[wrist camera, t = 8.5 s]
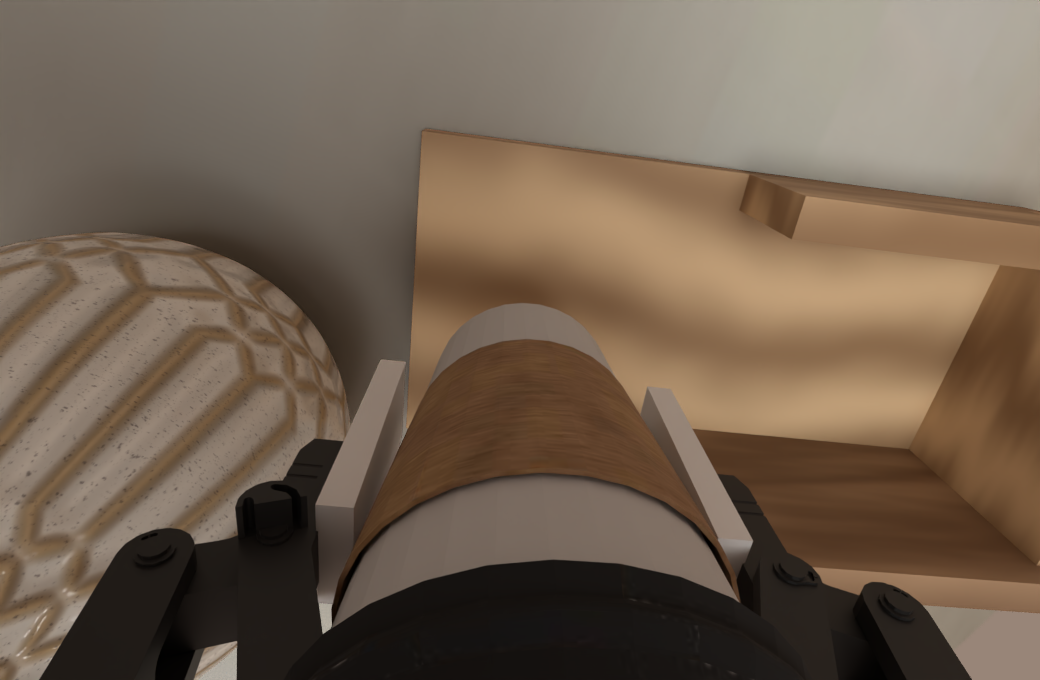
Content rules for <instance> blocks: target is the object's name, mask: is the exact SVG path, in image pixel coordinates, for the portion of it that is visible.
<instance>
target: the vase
mask: <svg viewBox="0 0 1040 680" xmlns="http://www.w3.org/2000/svg"><path fill="white" fill-rule="evenodd" d="M349 429H350V416H349V409H348V403H347V398H346V393H345V389H344V385H343V382H342V379H341V375H340V373H339V370H338V368H337V365H336V363H335V361H334V358H333V356H332V354H331V352H330V350H329V348H328V346H327V344H326V343H325V341H324V339H323V338H322V336H321V334H320V333H319V331H318V330H317V329H316V327H315V326H314V324H313V323H312V322H311V321H310V319H309V318H308V317H307V316H306V314H305V313H304V312H303V311H302V310H301V309H300V308H299V307H298V306H297V305H296V304H295V303H294V302H293V301H292V300H291V299H290V298H289V297H288V296H287V295H286V294H285V293H283V292H282V291H281V290H280V289H278V288H277V287H276V286H275V285H273V284H272V283H271V282H269V281H268V280H266V279H265V278H264V277H262V276H261V275H259V274H257V273H256V272H254V271H253V270H251V269H249V268H247V267H245V266H244V265H242V264H240V263H238V262H236V261H234V260H232V259H229V258H227V257H225V256H223V255H220V254H217V253H215V252H212V251H209V250H206V249H203V248H200V247H197V246H194V245H190V244H187V243H184V242H180V241H175V240H171V239H166V238H160V237H154V236H147V235H138V234H128V233H115V232H97V233H81V234H69V235H59V236H52V237H45V238H40V239H34V240H28V241H23V242H18V243H14V244H10V245H5V246H2V247H0V680H39V679H40V677H41V676H42V674H43V672H44V671H45V669H46V668H47V666H48V664H49V663H50V661H51V659H52V658H53V656H54V654H55V653H56V651H57V650H58V648H59V646H60V645H61V643H62V641H63V640H64V638H65V637H66V635H67V633H68V632H69V630H70V628H71V627H72V625H73V623H74V622H75V620H76V619H77V617H78V615H79V614H80V612H81V610H82V609H83V607H84V605H85V604H86V602H87V601H88V599H89V597H90V596H91V594H92V592H93V591H94V589H95V587H96V586H97V584H98V583H99V581H100V579H101V578H102V576H103V574H104V573H105V571H106V570H107V568H108V566H109V565H110V563H111V561H112V560H113V558H114V556H115V555H116V553H117V552H118V551H119V550H120V549H121V548H122V547H123V546H124V544H125V543H127V542H129V541H130V540H132V539H133V538H135V537H136V536H138V535H141V534H143V533H146V532H149V531H152V530H156V529H163V528H175V529H181V530H183V531H185V532H187V533H189V534H190V535H191V537H192V538H193V540H194V543H195V544H200V543H206V542H213V541H219V540H224V539H228V538H232V537H234V536H237V535H238V532H237V522H236V511H235V506H236V503H237V500H238V498H239V497H240V496H241V495H242V494H243V493H244V492H245V491H246V490H248V489H250V488H251V487H253V486H255V485H257V484H260V483H264V482H268V481H280V480H283V479H284V477H285V476H286V474H287V472H288V470H289V468H290V467H291V465H292V464H293V461H294V459H295V458H296V456H297V454H298V452H299V450H300V449H301V448H303V447H304V446H305V445H307V444H308V443H309V442H311V441H312V440H313V439H326V440H337V441H344V440H345V437H346V435H347V433H348V431H349ZM235 648H237V641H235V642H230V643H226V644H221V645H217V646H212V647H207V648H205V649H204V652H203V655H202V657H201V660H200V663H199V666H198V669H197V671H196V674H195V677H194V680H198V679H199V678H200V677H202V676H203V675H204V674H206V673H207V672H208V671H209V670H211V669H212V668H213V667H215V666H216V665H217V664H218V663H220V662H221V661H222V660H223V659H224V658H226V657H227V656H228V655H229V654H230V653H231V652H232V651H233V650H234V649H235Z"/></svg>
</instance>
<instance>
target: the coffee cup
mask: <svg viewBox="0 0 1040 680" xmlns="http://www.w3.org/2000/svg"><path fill="white" fill-rule="evenodd" d="M284 680H812V678H811V676H810V674H809V672H808V670H807V667H806V665H805V663H804V661H803V659H802V657H801V656H800V655H799V654H798V653H797V651H796V650H795V649H794V648H793V647H792V646H791V645H790V644H789V643H788V641H787V640H786V639H785V638H784V637H783V636H782V635H781V634H780V632H779V631H778V630H777V629H776V628H775V627H774V626H773V625H772V624H770V623H769V622H767V621H766V620H764V619H763V618H762V617H760V616H759V615H757V614H756V613H754V612H753V611H751V610H750V609H748V608H747V607H745V606H744V605H742V604H741V603H740V597H739V591H738V586H737V581H736V576H735V572H734V570H733V568H732V566H731V564H730V562H729V560H728V558H727V556H726V554H725V552H724V550H723V548H722V546H721V545H720V543H719V541H718V540H717V538H716V536H715V535H714V533H713V532H712V530H711V528H710V527H709V525H708V524H707V522H706V520H705V519H704V517H703V515H702V514H701V512H700V511H699V509H698V507H697V506H696V504H695V503H694V501H693V499H692V498H691V496H690V494H689V493H688V491H687V490H686V488H685V486H684V485H683V483H682V482H681V480H680V478H679V477H678V475H677V473H676V472H675V470H674V469H673V467H672V465H671V464H670V462H669V461H668V459H667V457H666V456H665V454H664V452H663V451H662V449H661V448H660V446H659V444H658V443H657V441H656V440H655V438H654V436H653V435H652V433H651V431H650V430H649V428H648V427H647V425H646V423H645V422H644V420H643V419H642V417H641V415H640V414H639V412H638V410H637V409H636V407H635V406H634V404H633V402H632V401H631V399H630V398H629V396H628V394H627V393H626V391H625V389H624V388H623V386H622V385H621V384H620V382H619V381H618V380H617V379H616V377H615V375H614V373H613V371H612V370H611V368H610V366H609V364H608V362H607V361H606V359H605V357H604V355H603V353H602V351H601V350H600V348H599V346H598V344H597V343H596V341H595V340H594V338H593V337H592V336H591V335H590V333H589V332H588V331H587V330H586V329H585V327H584V326H582V325H581V324H580V323H579V322H577V321H576V320H575V319H574V318H572V317H571V316H569V315H567V314H565V313H563V312H561V311H559V310H557V309H554V308H550V307H547V306H543V305H539V304H529V303H516V304H505V305H502V306H498V307H495V308H491V309H488V310H486V311H484V312H482V313H480V314H478V315H476V316H474V317H473V318H471V319H470V320H469V321H467V322H466V323H465V324H464V325H462V326H461V327H460V328H459V329H458V330H457V331H456V333H455V334H454V335H453V336H452V337H451V338H450V340H449V341H448V343H447V345H446V347H445V349H444V351H443V353H442V354H441V356H440V359H439V361H438V364H437V366H436V368H435V371H434V373H433V376H432V378H431V381H430V383H429V386H428V388H427V391H426V393H425V395H424V397H423V399H422V400H421V402H420V404H419V406H418V408H417V411H416V413H415V415H414V417H413V419H412V421H411V424H410V426H409V428H408V430H407V432H406V434H405V437H404V439H403V441H402V443H401V445H400V447H399V450H398V452H397V454H396V456H395V458H394V460H393V463H392V465H391V467H390V469H389V471H388V473H387V476H386V478H385V480H384V482H383V484H382V486H381V489H380V491H379V493H378V495H377V497H376V499H375V502H374V504H373V506H372V508H371V510H370V512H369V515H368V517H367V519H366V521H365V523H364V525H363V528H362V530H361V532H360V534H359V536H358V538H357V541H356V543H355V545H354V547H353V549H352V551H351V554H350V556H349V558H348V560H347V562H346V564H345V567H344V569H343V571H342V573H341V575H340V577H339V580H338V584H337V588H336V592H335V596H334V600H333V605H332V627H331V629H330V630H328V631H327V632H325V633H324V634H323V635H322V636H321V637H320V638H319V639H318V640H317V641H316V642H315V643H314V644H313V645H312V646H311V647H310V648H309V649H308V650H307V651H306V652H305V653H304V654H303V655H302V656H301V657H300V658H299V659H298V660H297V661H296V662H295V663H294V664H293V665H292V666H291V668H290V669H289V671H288V673H287V675H286V677H285V678H284Z"/></svg>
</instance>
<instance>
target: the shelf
mask: <svg viewBox="0 0 1040 680" xmlns="http://www.w3.org/2000/svg"><path fill="white" fill-rule="evenodd" d="M516 303H529V304H539V305H543V306H547V307H550V308H554V309H557V310H559V311H561V312H563V313H565V314H567V315H569V316H571V317H572V318H574V319H575V320H576V321H577V322H579V323H580V324H581V325H582V326H584V327H585V329H586V330H587V331H588V332H589V333H590V335H591V336H592V337H593V338H594V340H595V341H596V343H597V344H598V346H599V348H600V350H601V351H602V353H603V355H604V357H605V359H606V361H607V362H608V364H609V366H610V368H611V370H612V371H613V373H614V375H615V377H616V379H617V380H618V381H619V382H620V384H621V385H622V386H623V388H624V389H625V391H626V393H627V394H628V396H629V398H630V399H631V401H632V402H633V404H634V406H635V407H636V409H637V410H638V412H639V414H641V410H642V406H643V402H644V398H645V394H646V390H647V386H648V387H658V388H667V389H671V390H672V392H673V394H674V396H675V398H676V400H677V401H678V403H679V405H680V407H681V409H682V411H683V413H684V414H685V416H686V418H687V420H688V422H689V424H690V425H691V427H692V429H693V431H694V433H695V435H696V436H697V438H698V440H699V442H700V444H701V446H702V447H703V449H704V451H705V453H706V455H707V457H708V459H709V460H710V462H711V464H712V466H713V468H714V470H715V471H716V473H717V474H724V475H734V476H735V477H736V478H737V479H739V480H740V481H741V482H742V483H743V484H744V485H745V486H747V487H748V488H749V490H750V491H751V493H752V495H753V496H754V498H755V500H756V501H757V505H759V506H760V508H761V510H762V511H763V513H764V516H766V518H767V520H768V521H769V523H770V525H771V526H772V528H773V530H774V531H775V533H776V535H777V536H778V538H779V540H780V541H781V543H782V545H783V546H784V548H785V550H786V551H787V553H790V554H792V555H794V556H796V557H798V558H801V559H802V560H803V561H805V562H806V563H808V564H809V565H810V566H812V567H813V569H814V570H815V571H816V572H817V573H818V574H819V575H820V578H821V580H822V583H824V584H826V585H829V586H832V587H835V588H838V589H841V590H844V591H847V592H850V593H853V594H857V595H860V593H861V591H862V589H863V587H864V585H865V584H868V583H870V582H883V583H886V584H889V585H893V586H895V587H897V588H899V589H901V590H903V591H905V592H907V593H908V594H910V595H911V596H912V597H914V598H915V599H916V600H917V601H919V602H920V603H921V604H922V605H929V606H943V607H957V608H972V609H986V610H1001V611H1015V612H1029V613H1040V211H1036V210H1032V209H1028V208H1023V207H1015V206H1008V205H1000V204H992V203H985V202H977V201H970V200H962V199H955V198H947V197H939V196H932V195H924V194H917V193H909V192H902V191H894V190H886V189H879V188H871V187H864V186H856V185H849V184H841V183H833V182H826V181H818V180H811V179H803V178H796V177H788V176H781V175H773V174H765V173H758V172H750V171H743V170H735V169H728V168H720V167H712V166H705V165H697V164H690V163H682V162H675V161H667V160H659V159H652V158H644V157H637V156H629V155H622V154H614V153H606V152H599V151H591V150H584V149H576V148H569V147H561V146H553V145H546V144H538V143H531V142H523V141H516V140H508V139H501V138H493V137H485V136H478V135H470V134H463V133H455V132H448V131H440V130H432V129H424V130H423V131H422V140H421V159H420V178H419V197H418V215H417V234H416V253H415V272H414V291H413V310H412V329H411V347H410V366H409V385H408V404H407V423H406V428H409V426H410V424H411V421H412V419H413V417H414V415H415V413H416V411H417V408H418V406H419V404H420V402H421V400H422V399H423V397H424V395H425V393H426V391H427V388H428V386H429V383H430V381H431V378H432V376H433V373H434V371H435V368H436V366H437V364H438V361H439V359H440V356H441V354H442V353H443V351H444V349H445V347H446V345H447V343H448V341H449V340H450V338H451V337H452V336H453V335H454V334H455V333H456V331H457V330H458V329H459V328H460V327H461V326H462V325H464V324H465V323H466V322H467V321H469V320H470V319H471V318H473V317H474V316H476V315H478V314H480V313H482V312H484V311H486V310H488V309H491V308H495V307H498V306H502V305H505V304H516Z"/></svg>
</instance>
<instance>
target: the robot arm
mask: <svg viewBox="0 0 1040 680" xmlns="http://www.w3.org/2000/svg"><path fill="white" fill-rule="evenodd" d="M405 367H406V362H403V361H393V360H384V359H381V360H380V362H379V364H378V366H377V369H376V371H375V373H374V375H373V378H372V380H371V382H370V384H369V386H368V389H367V391H366V393H365V395H364V397H363V400H362V402H361V404H360V406H359V409H358V411H357V413H356V415H355V417H354V420H353V422H352V424H351V426H350V429H349V431H348V433H347V435H346V437H345V440H344V441H337V440H326V439H313V440H312V441H311V442H309V443H308V444H307V445H305V446H304V447H303V448H301V449H300V450H299V452H298V454H297V456H296V458H295V459H294V461H293V464H292V465H291V467H290V468H289V470H288V472H287V474H286V476H285V477H284V479H283V480H280V481H268V482H264V483H260V484H257V485H255V486H253V487H251V488H250V489H248V490H246V491H245V492H244V493H243V494H242V495H241V496H240V497H239V498H238V500H237V503H236V506H235V511H236V522H237V532H238V535H237V536H234V537H232V538H228V539H224V540H219V541H213V542H206V543H200V544H195V543H194V540H193V538H192V537H191V535H190V534H189V533H187V532H185V531H183V530H181V529H175V528H163V529H156V530H152V531H149V532H146V533H143V534H141V535H138V536H136V537H135V538H133V539H132V540H130V541H129V542H127V543H125V544H124V546H123V547H122V548H121V549H120V550H119V551H118V552H117V553H116V555H115V556H114V558H113V560H112V561H111V563H110V565H109V566H108V568H107V570H106V571H105V573H104V574H103V576H102V578H101V579H100V581H99V583H98V584H97V586H96V587H95V589H94V591H93V592H92V594H91V596H90V597H89V599H88V601H87V602H86V604H85V605H84V607H83V609H82V610H81V612H80V614H79V615H78V617H77V619H76V620H75V622H74V623H73V625H72V627H71V628H70V630H69V632H68V633H67V635H66V637H65V638H64V640H63V641H62V643H61V645H60V646H59V648H58V650H57V651H56V653H55V654H54V656H53V658H52V659H51V661H50V663H49V664H48V666H47V668H46V669H45V671H44V672H43V674H42V676H41V677H40V679H39V680H194V677H195V674H196V671H197V669H198V666H199V663H200V660H201V657H202V655H203V652H204V649H205V648H207V647H212V646H217V645H221V644H226V643H230V642H235V641H237V680H284V678H285V677H286V675H287V673H288V671H289V669H290V668H291V666H292V665H293V664H294V663H295V662H296V661H297V660H298V659H299V658H300V657H301V656H302V655H303V654H304V653H305V652H306V651H307V650H308V649H309V648H310V647H311V646H312V645H313V644H314V643H315V642H316V641H317V640H318V639H319V638H320V637H321V636H322V635H323V633H322V626H321V618H320V611H319V603H325V604H333V600H334V596H335V592H336V588H337V584H338V580H339V577H340V575H341V573H342V571H343V569H344V567H345V564H346V562H347V560H348V558H349V556H350V554H351V551H352V549H353V547H354V545H355V543H356V541H357V538H358V536H359V534H360V532H361V530H362V528H363V525H364V523H365V521H366V519H367V517H368V515H369V512H370V510H371V508H372V506H373V504H374V502H375V499H376V497H377V495H378V493H379V491H380V489H381V486H382V484H383V482H384V480H385V478H386V476H387V473H388V471H389V469H390V467H391V465H392V463H393V460H394V458H395V456H396V454H397V452H398V448H399V445H400V441H401V438H402V426H403V406H404V387H405ZM640 415H641V417H642V419H643V420H644V422H645V423H646V425H647V427H648V428H649V430H650V431H651V433H652V435H653V436H654V438H655V440H656V441H657V443H658V444H659V446H660V448H661V449H662V451H663V452H664V454H665V456H666V457H667V459H668V461H669V462H670V464H671V465H672V467H673V469H674V470H675V472H676V473H677V475H678V477H679V478H680V480H681V482H682V483H683V485H684V486H685V488H686V490H687V491H688V493H689V494H690V496H691V498H692V499H693V501H694V503H695V504H696V506H697V507H698V509H699V511H700V512H701V514H702V515H703V517H704V519H705V520H706V522H707V524H708V525H709V527H710V528H711V530H712V532H713V533H714V535H715V536H716V538H717V540H718V541H719V543H720V545H721V546H722V548H723V550H724V552H725V554H726V556H727V558H728V560H729V562H730V564H731V566H732V568H733V570H734V572H735V576H736V581H737V586H738V591H739V597H740V603H741V604H742V605H744V606H745V607H747V608H748V609H750V610H751V611H753V612H754V613H756V614H757V615H759V616H760V617H762V618H763V619H764V620H766V621H767V622H769V623H770V624H772V625H773V626H774V627H775V628H776V629H777V630H778V631H779V632H780V634H781V635H782V636H783V637H784V638H785V639H786V640H787V641H788V643H789V644H790V645H791V646H792V647H793V648H794V649H795V650H796V651H797V653H798V654H799V655H800V656H801V657H802V659H803V661H804V663H805V665H806V667H807V670H808V672H809V674H810V676H811V678H812V680H972V679H971V678H970V676H969V674H968V673H967V671H966V670H965V668H964V667H963V665H962V664H961V662H960V661H959V659H958V657H957V656H956V654H955V653H954V651H953V650H952V648H951V647H950V645H949V643H948V642H947V640H946V639H945V637H944V636H943V634H942V633H941V631H940V629H939V628H938V626H937V625H936V623H935V622H934V620H933V619H932V617H931V616H930V614H929V612H928V611H927V610H926V609H925V608H924V607H923V605H922V604H921V603H920V602H919V601H917V600H916V599H915V598H914V597H912V596H911V595H910V594H908V593H907V592H905V591H903V590H901V589H899V588H897V587H895V586H893V585H889V584H886V583H883V582H870V583H868V584H865V585H864V587H863V589H862V591H861V593H860V595H857V594H853V593H850V592H847V591H844V590H841V589H838V588H835V587H832V586H829V585H826V584H824V583H822V580H821V578H820V575H819V574H818V573H817V572H816V571H815V570H814V569H813V567H812V566H810V565H809V564H808V563H806V562H805V561H803V560H802V559H801V558H798V557H796V556H794V555H792V554H790V553H787V551H786V550H785V548H784V546H783V545H782V543H781V541H780V540H779V538H778V536H777V535H776V533H775V531H774V530H773V528H772V526H771V525H770V523H769V521H768V520H767V518H766V516H764V513H763V511H762V510H761V508H760V506H759V505H757V501H756V500H755V498H754V496H753V495H752V493H751V491H750V490H749V488H748V487H747V486H745V485H744V484H743V483H742V482H741V481H740V480H739V479H737V478H736V477H735V476H734V475H724V474H717V473H716V471H715V470H714V468H713V466H712V464H711V462H710V460H709V459H708V457H707V455H706V453H705V451H704V449H703V447H702V446H701V444H700V442H699V440H698V438H697V436H696V435H695V433H694V431H693V429H692V427H691V425H690V424H689V422H688V420H687V418H686V416H685V414H684V413H683V411H682V409H681V407H680V405H679V403H678V401H677V400H676V398H675V396H674V394H673V392H672V390H671V389H667V388H658V387H648V386H647V390H646V394H645V398H644V402H643V406H642V410H641V414H640Z"/></svg>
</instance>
